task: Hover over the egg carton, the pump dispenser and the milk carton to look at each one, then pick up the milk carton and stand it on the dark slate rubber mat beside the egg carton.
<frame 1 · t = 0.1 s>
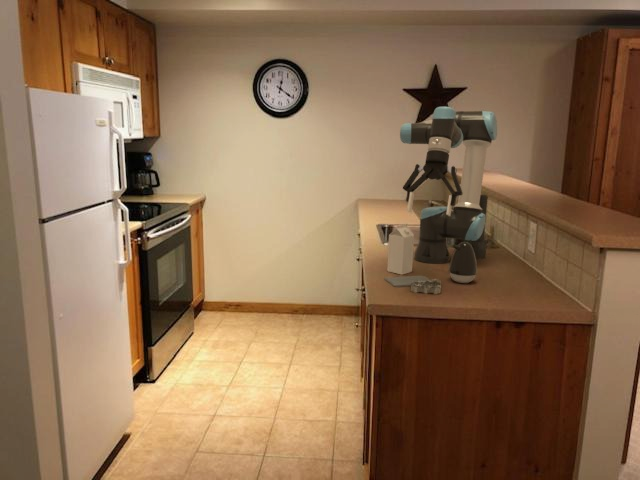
hand: (428, 213, 181), 28 cm above the worktop, tool tilted 20°, fingers open, 13 cm apart
flashlight: (477, 257, 241), on the worktop
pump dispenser: (461, 281, 201), on the worktop
milk carton: (399, 272, 213), on the worktop
egg carton: (425, 291, 188), on the worktop
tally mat: (409, 281, 199), on the worktop
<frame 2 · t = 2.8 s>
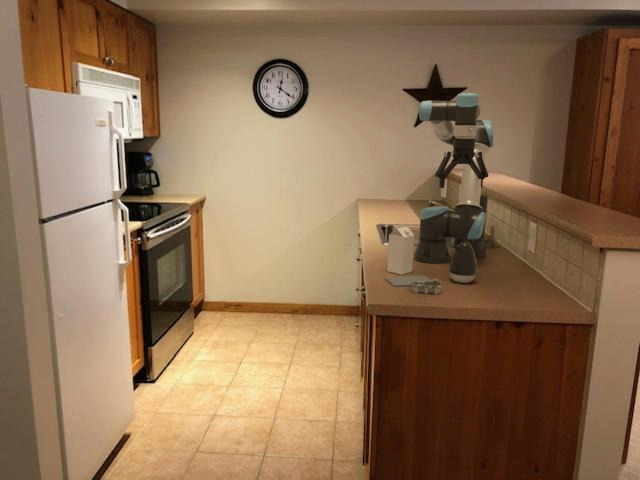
hand: (460, 196, 196), 32 cm above the worktop, tool pointing down, fingers open, 13 cm apart
flashlight: (477, 257, 241), on the worktop, touching arm
everything else where it was.
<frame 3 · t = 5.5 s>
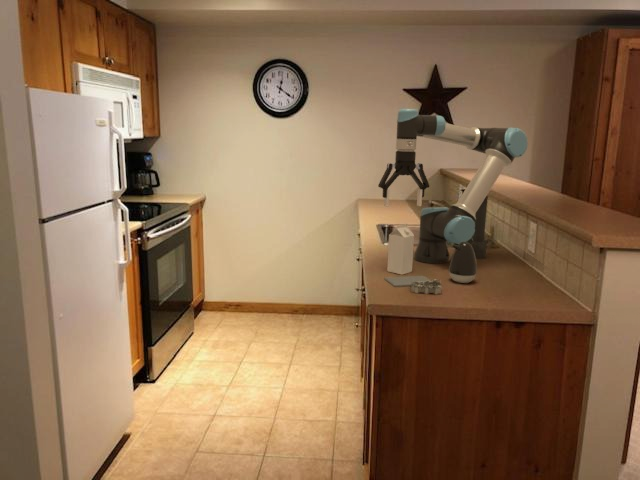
hand: (402, 206, 207), 26 cm above the worktop, tool pointing down, fingers open, 13 cm apart
flashlight: (477, 257, 241), on the worktop
everything else where it was.
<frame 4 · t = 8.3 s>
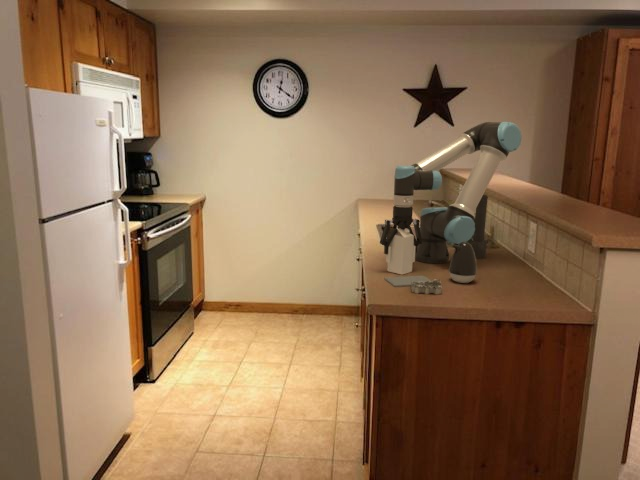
hand: (400, 261, 212), 4 cm above the worktop, tool pointing down, fingers closed on milk carton, 10 cm apart
milk carton: (399, 272, 213), on the worktop, touching gripper
everything else where it was.
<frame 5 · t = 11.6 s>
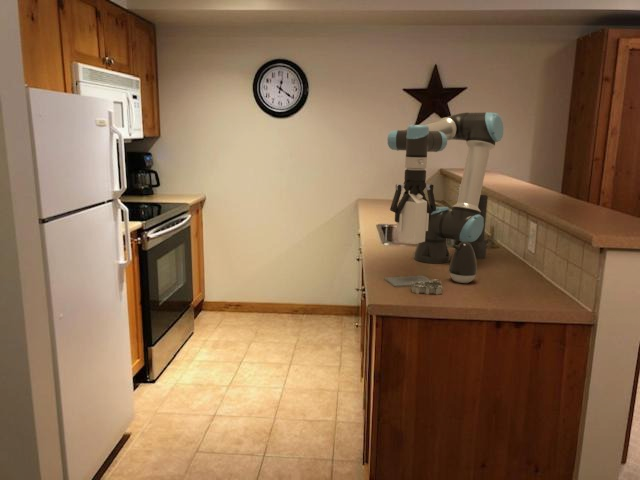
hand: (412, 230, 195), 19 cm above the worktop, tool pointing down, fingers closed on milk carton, 10 cm apart
milk carton: (411, 242, 196), point 15 cm above the worktop, touching gripper
everything else where it was.
when the fingers open (6 cm above the worktop, at t = 14.9 s): milk carton drops 1 cm, resting on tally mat.
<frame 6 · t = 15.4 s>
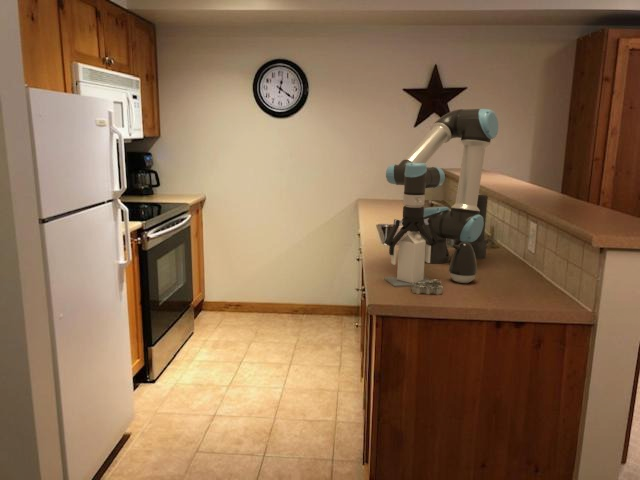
hand: (410, 263, 197), 7 cm above the worktop, tool pointing down, fingers open, 13 cm apart
milk carton: (410, 280, 199), resting on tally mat
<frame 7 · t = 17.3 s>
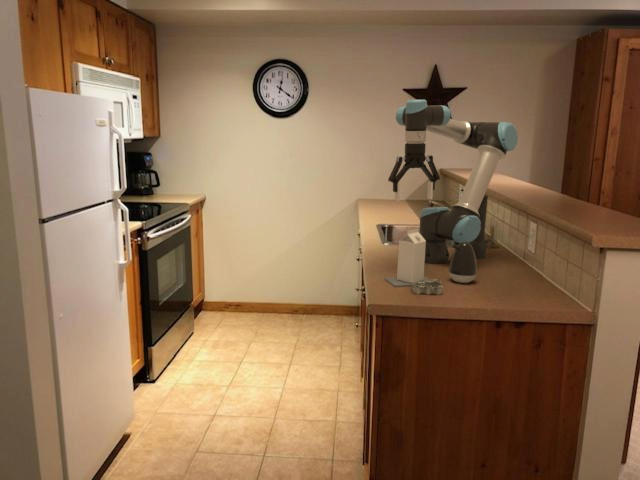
hand: (413, 199, 202), 29 cm above the worktop, tool pointing down, fingers open, 13 cm apart
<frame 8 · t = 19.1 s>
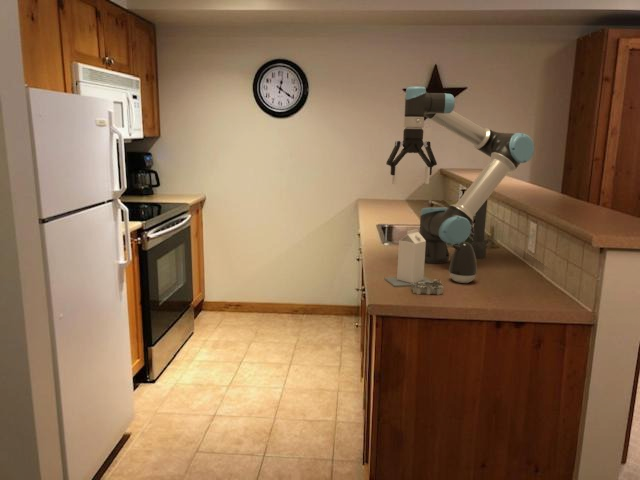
hand: (410, 183, 209), 35 cm above the worktop, tool pointing down, fingers open, 13 cm apart
at the end: milk carton inside the target area on the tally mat (0.3 cm from its centre), point 0.4 cm above the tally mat's base; milk carton tilted 0°; the gripper is holding nothing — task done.
